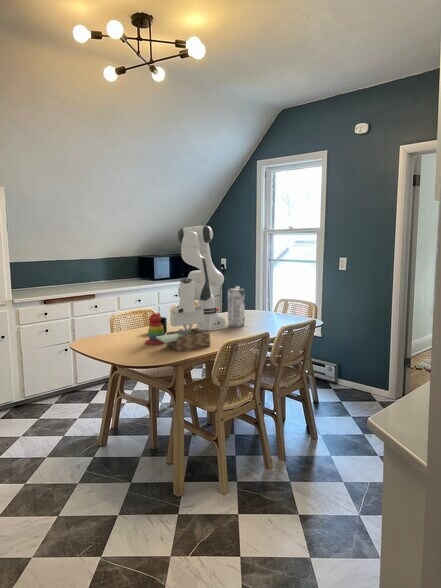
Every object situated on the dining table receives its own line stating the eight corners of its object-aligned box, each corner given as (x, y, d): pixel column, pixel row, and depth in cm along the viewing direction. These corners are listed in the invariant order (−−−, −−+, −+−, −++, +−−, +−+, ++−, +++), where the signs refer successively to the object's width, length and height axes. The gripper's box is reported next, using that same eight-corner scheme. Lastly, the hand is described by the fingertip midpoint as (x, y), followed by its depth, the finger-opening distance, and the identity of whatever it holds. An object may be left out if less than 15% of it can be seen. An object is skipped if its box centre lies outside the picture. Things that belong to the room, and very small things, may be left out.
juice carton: (238, 327, 292) (238, 288, 288) (226, 325, 298) (225, 287, 294) (246, 325, 299) (246, 286, 295) (233, 323, 305) (233, 285, 301)
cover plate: (183, 334, 250) (183, 328, 250) (192, 338, 241) (192, 331, 240) (156, 338, 241) (156, 332, 240) (164, 342, 232) (164, 335, 231)
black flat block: (164, 333, 277) (164, 318, 276) (150, 333, 279) (149, 318, 278) (166, 332, 282) (166, 317, 280) (152, 331, 284) (151, 316, 282)
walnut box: (197, 341, 257) (197, 327, 256) (210, 346, 246) (209, 332, 245) (167, 346, 247) (166, 332, 246) (178, 352, 235) (178, 337, 234)
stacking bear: (157, 339, 262) (156, 311, 260) (168, 342, 256) (167, 312, 253) (143, 343, 254) (142, 313, 251) (155, 346, 248) (153, 315, 245)
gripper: (200, 305, 251) (201, 328, 253) (168, 309, 240) (169, 333, 242) (206, 306, 246) (206, 330, 248) (173, 310, 235) (174, 335, 237)
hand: (188, 332), depth 245 cm, fingers closed
